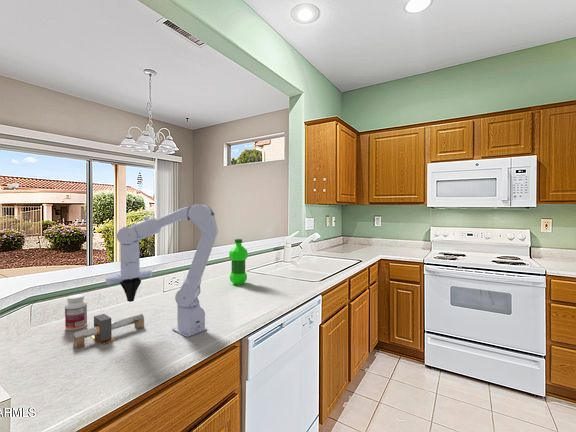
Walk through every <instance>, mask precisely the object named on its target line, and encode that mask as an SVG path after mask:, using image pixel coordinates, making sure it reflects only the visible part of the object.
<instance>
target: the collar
mask: <svg viewBox="0 0 576 432" xmlns="http://www.w3.org/2000/svg"><path fill="white" fill-rule="evenodd" d="M111 322H112V317H111V316H109V315H107V314H106V313H102V314H97V315H93V327H96V326H99V330H100V334H97V335H94V337H96V338H97V339H98V340H99V341H101V342H102V341H105V340H108V339H111V338H113V337H112V334H113V333H112V331H113V330H112V325H111Z"/></svg>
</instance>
